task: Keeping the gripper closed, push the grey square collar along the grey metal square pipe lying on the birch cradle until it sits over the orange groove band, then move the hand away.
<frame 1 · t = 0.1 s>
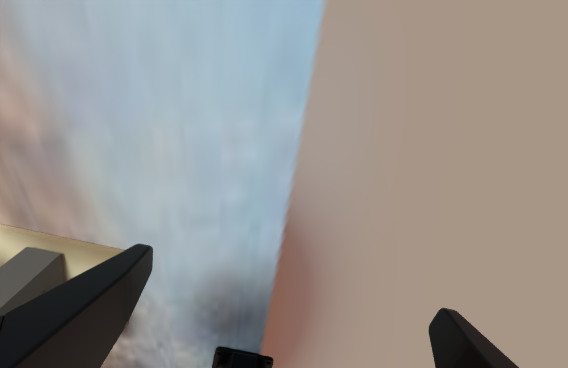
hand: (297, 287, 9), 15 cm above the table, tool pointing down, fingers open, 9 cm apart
grey square collar: (13, 317, 25), point 5 cm above the table, slide at 0.0 cm
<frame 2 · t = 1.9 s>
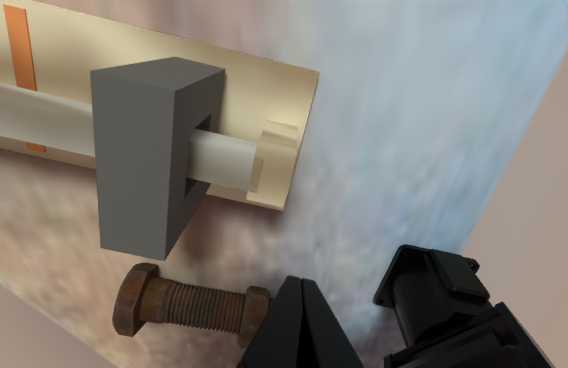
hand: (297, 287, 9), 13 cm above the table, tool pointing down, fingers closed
bolt: (224, 288, 28), on the table
grey square collar: (170, 147, 16), point 5 cm above the table, slide at 0.0 cm
cradle: (110, 102, 20), on the table
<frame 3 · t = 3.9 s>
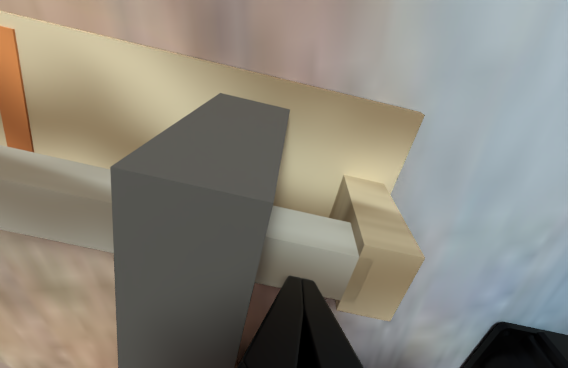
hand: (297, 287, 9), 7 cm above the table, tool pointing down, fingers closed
grey square collar: (220, 232, 11), point 5 cm above the table, slide at 0.2 cm, touching gripper
cradle: (130, 149, 15), on the table
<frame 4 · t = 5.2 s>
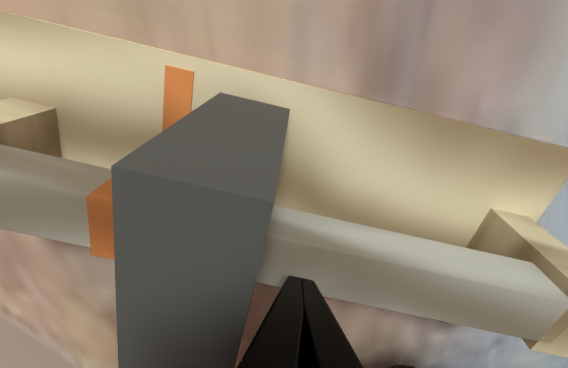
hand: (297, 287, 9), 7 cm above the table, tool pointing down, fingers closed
grey square collar: (220, 232, 11), point 5 cm above the table, slide at 7.6 cm, touching gripper
cradle: (275, 182, 15), on the table
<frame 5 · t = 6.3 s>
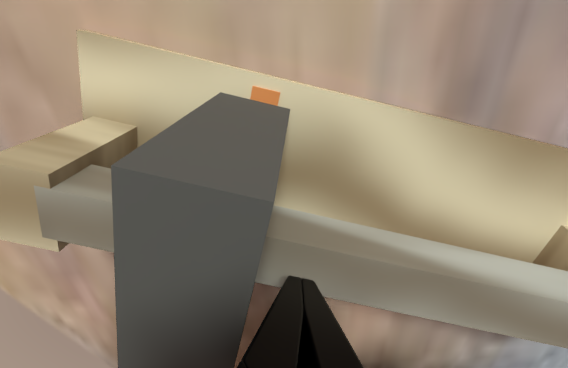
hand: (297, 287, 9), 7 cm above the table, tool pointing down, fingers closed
grey square collar: (220, 232, 11), point 5 cm above the table, slide at 11.3 cm, touching gripper
cradle: (345, 198, 16), on the table
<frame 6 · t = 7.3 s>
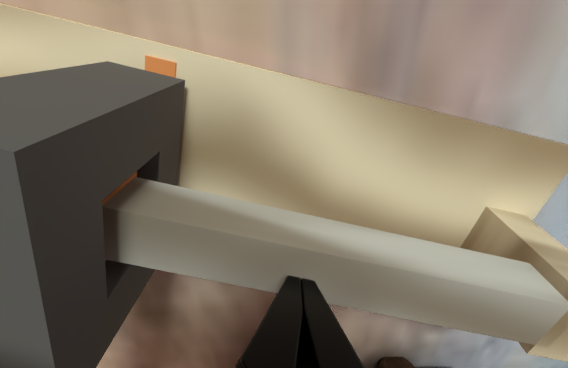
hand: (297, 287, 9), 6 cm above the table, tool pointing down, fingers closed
bolt: (347, 364, 22), on the table
grey square collar: (89, 209, 10), point 5 cm above the table, slide at 11.4 cm
cradle: (264, 179, 15), on the table
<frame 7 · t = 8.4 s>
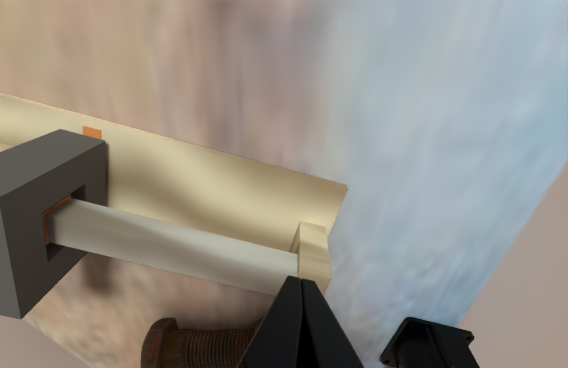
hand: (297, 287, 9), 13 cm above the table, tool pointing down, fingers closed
bolt: (239, 326, 30), on the table
grey square collar: (42, 215, 18), point 5 cm above the table, slide at 11.4 cm
cradle: (163, 197, 23), on the table
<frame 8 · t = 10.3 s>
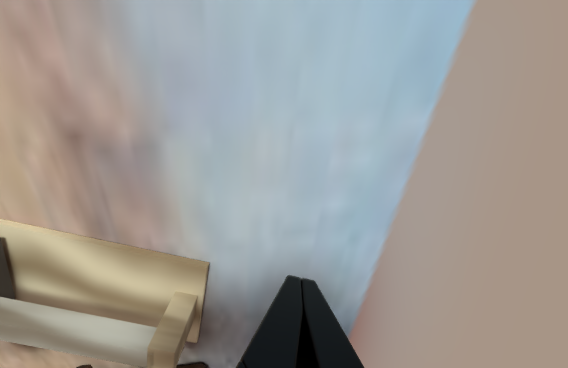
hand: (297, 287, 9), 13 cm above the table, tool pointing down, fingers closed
bolt: (147, 365, 34), on the table
cradle: (62, 274, 27), on the table
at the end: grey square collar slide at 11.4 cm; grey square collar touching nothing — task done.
